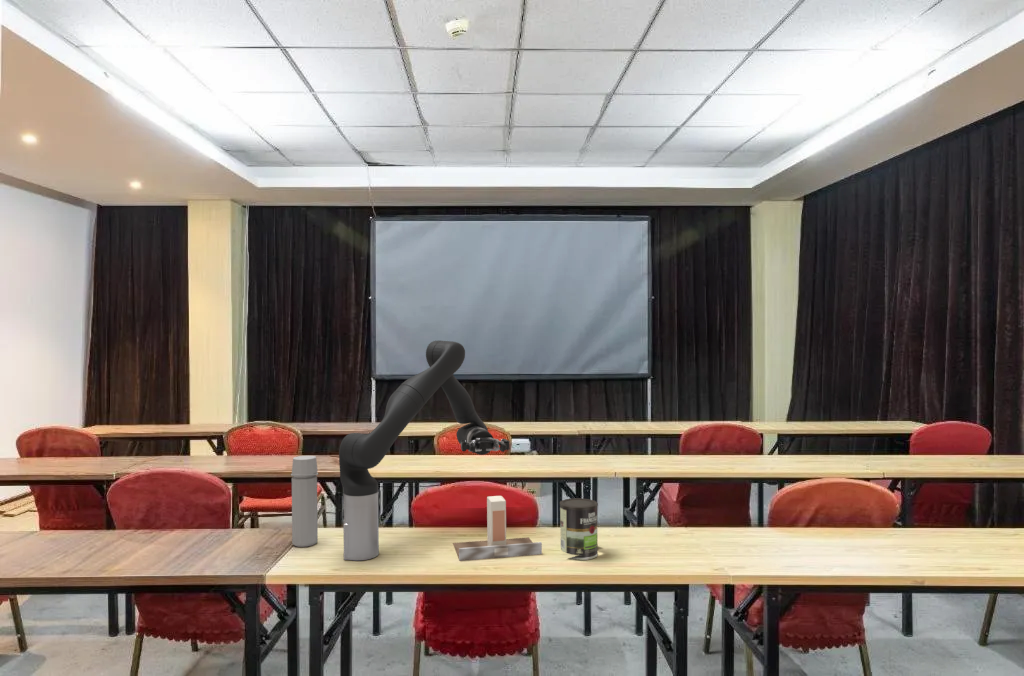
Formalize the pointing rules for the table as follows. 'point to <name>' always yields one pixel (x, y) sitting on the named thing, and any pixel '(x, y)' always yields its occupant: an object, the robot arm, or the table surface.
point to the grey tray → (497, 549)
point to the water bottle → (304, 501)
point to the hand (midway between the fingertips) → (488, 448)
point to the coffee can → (579, 528)
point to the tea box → (496, 520)
